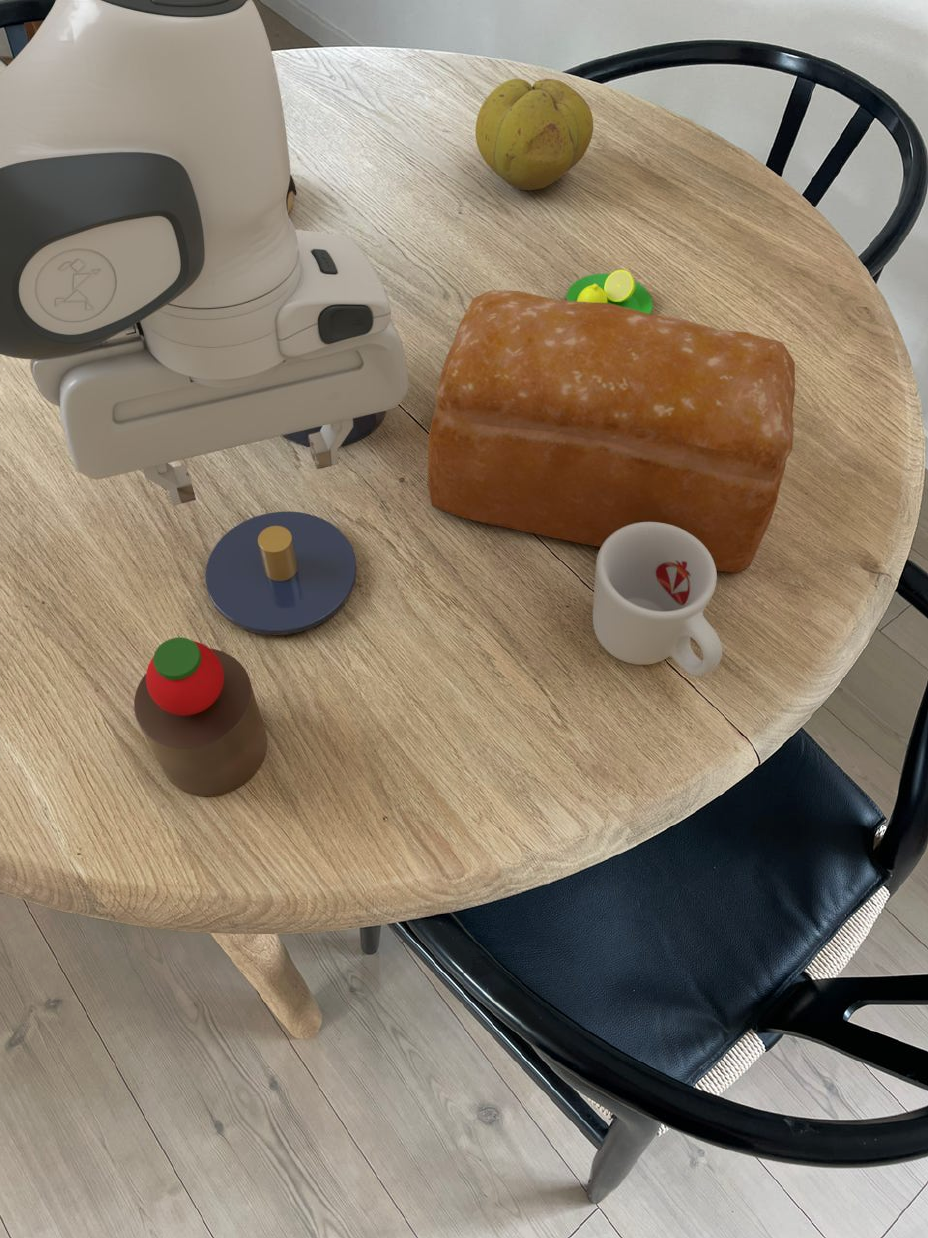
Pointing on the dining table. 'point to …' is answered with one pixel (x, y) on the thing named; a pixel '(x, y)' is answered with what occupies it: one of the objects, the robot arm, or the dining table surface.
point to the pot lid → (281, 573)
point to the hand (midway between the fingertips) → (255, 477)
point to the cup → (655, 597)
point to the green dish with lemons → (612, 291)
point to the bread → (610, 424)
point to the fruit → (533, 131)
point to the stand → (208, 736)
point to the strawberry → (184, 677)
